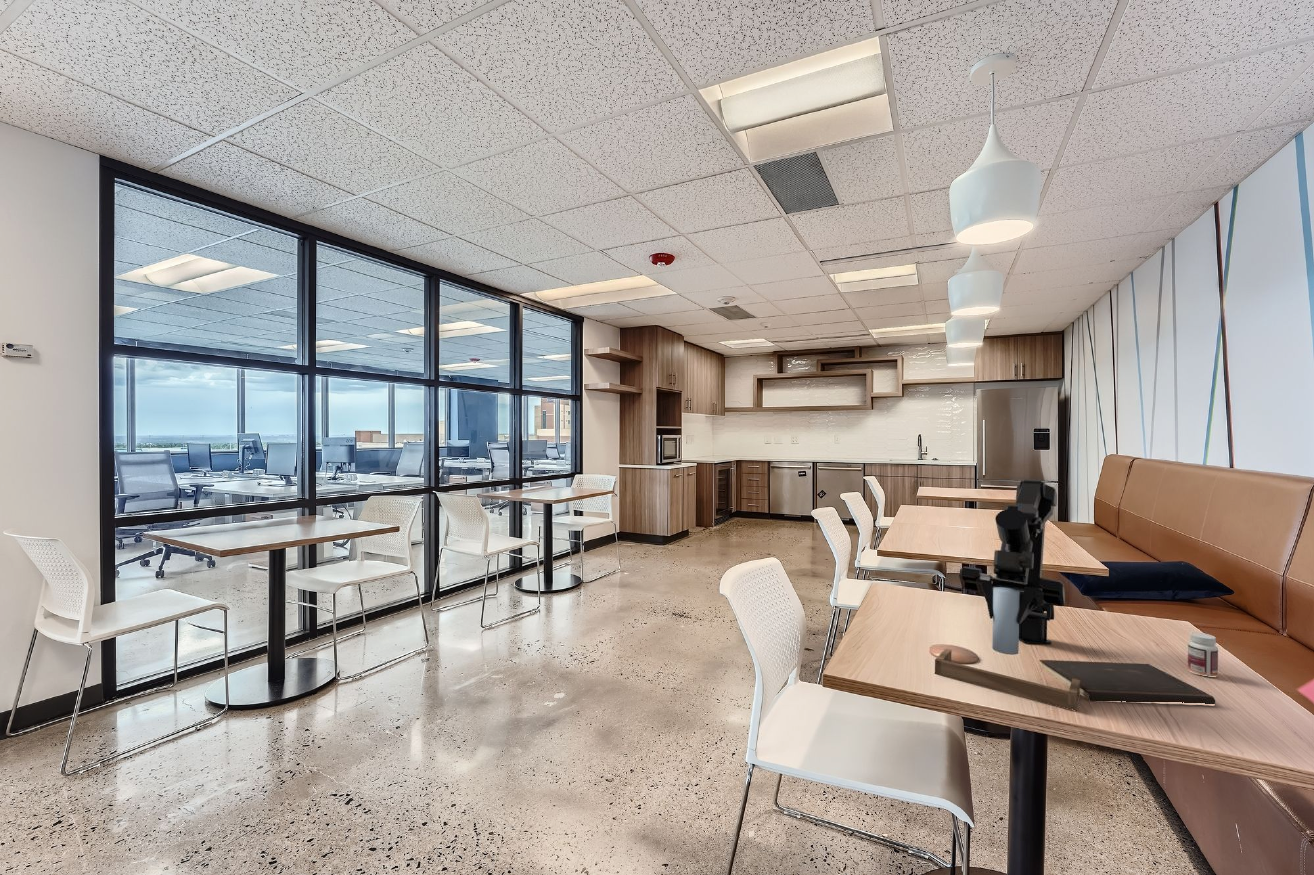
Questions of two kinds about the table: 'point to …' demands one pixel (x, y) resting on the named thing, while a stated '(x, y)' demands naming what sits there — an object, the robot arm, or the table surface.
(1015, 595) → the blue canister
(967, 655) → the terracotta coaster
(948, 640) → the table surface
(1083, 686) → the hardcover book
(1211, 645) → the pill bottle
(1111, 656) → the table surface
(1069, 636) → the table surface
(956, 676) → the walnut rack
